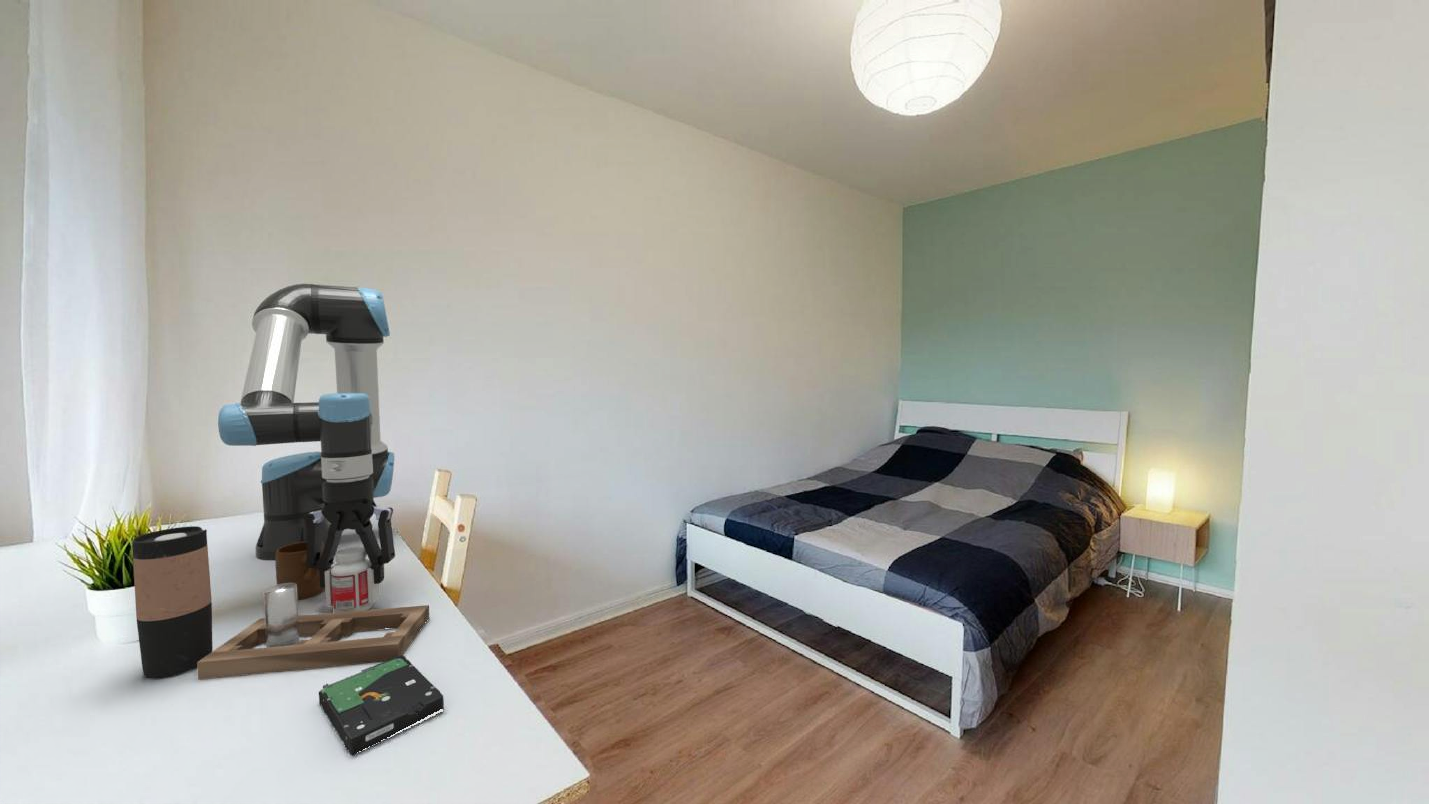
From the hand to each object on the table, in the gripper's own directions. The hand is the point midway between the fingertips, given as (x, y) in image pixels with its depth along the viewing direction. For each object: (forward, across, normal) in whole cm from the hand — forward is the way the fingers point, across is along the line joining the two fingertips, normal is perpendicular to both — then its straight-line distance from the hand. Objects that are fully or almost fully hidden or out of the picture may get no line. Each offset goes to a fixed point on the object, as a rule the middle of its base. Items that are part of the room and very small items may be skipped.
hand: (353, 601), depth 93 cm
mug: (+2, -12, +8) cm, 15 cm away
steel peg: (+2, -4, -13) cm, 14 cm away
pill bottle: (+2, 0, 0) cm, 2 cm away
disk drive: (+2, +17, -31) cm, 35 cm away
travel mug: (+2, -17, -15) cm, 22 cm away
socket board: (+1, +2, -13) cm, 13 cm away
